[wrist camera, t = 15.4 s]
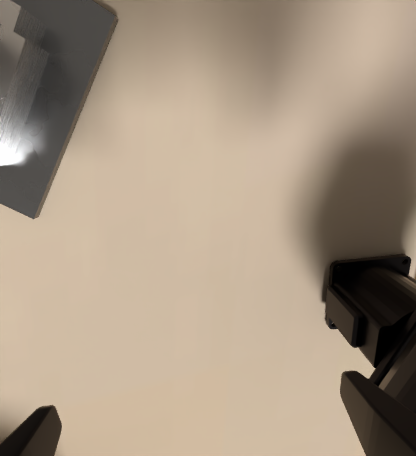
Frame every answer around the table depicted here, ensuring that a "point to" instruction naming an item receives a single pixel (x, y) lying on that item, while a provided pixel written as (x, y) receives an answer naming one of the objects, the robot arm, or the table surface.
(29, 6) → the square socket
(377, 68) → the table surface
